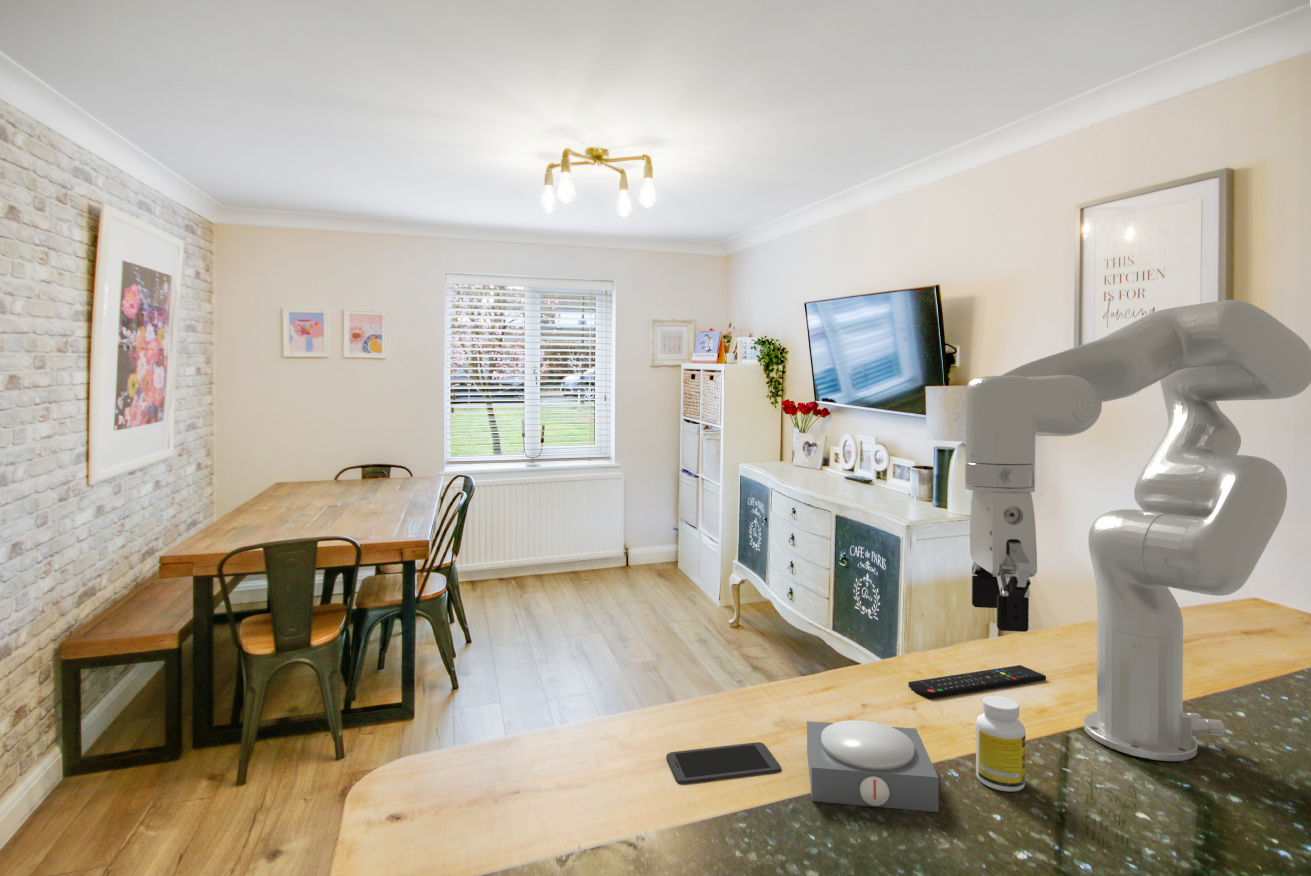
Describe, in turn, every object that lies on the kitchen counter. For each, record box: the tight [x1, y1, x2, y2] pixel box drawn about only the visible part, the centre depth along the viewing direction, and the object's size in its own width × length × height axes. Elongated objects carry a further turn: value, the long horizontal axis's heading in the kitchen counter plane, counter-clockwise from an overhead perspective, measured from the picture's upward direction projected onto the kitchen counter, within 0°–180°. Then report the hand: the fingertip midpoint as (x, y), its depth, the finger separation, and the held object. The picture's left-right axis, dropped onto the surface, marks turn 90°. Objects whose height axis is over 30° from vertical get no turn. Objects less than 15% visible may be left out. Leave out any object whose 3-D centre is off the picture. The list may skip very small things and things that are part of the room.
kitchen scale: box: [806, 719, 940, 813], centre depth 81 cm, size 14×13×5 cm
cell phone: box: [665, 741, 782, 785], centre depth 86 cm, size 7×14×1 cm, turn 101°
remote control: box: [907, 664, 1047, 700], centre depth 110 cm, size 5×24×1 cm, turn 107°
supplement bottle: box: [975, 695, 1026, 792], centre depth 81 cm, size 5×5×10 cm
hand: (998, 617), depth 80 cm, fingers open, 9 cm apart
